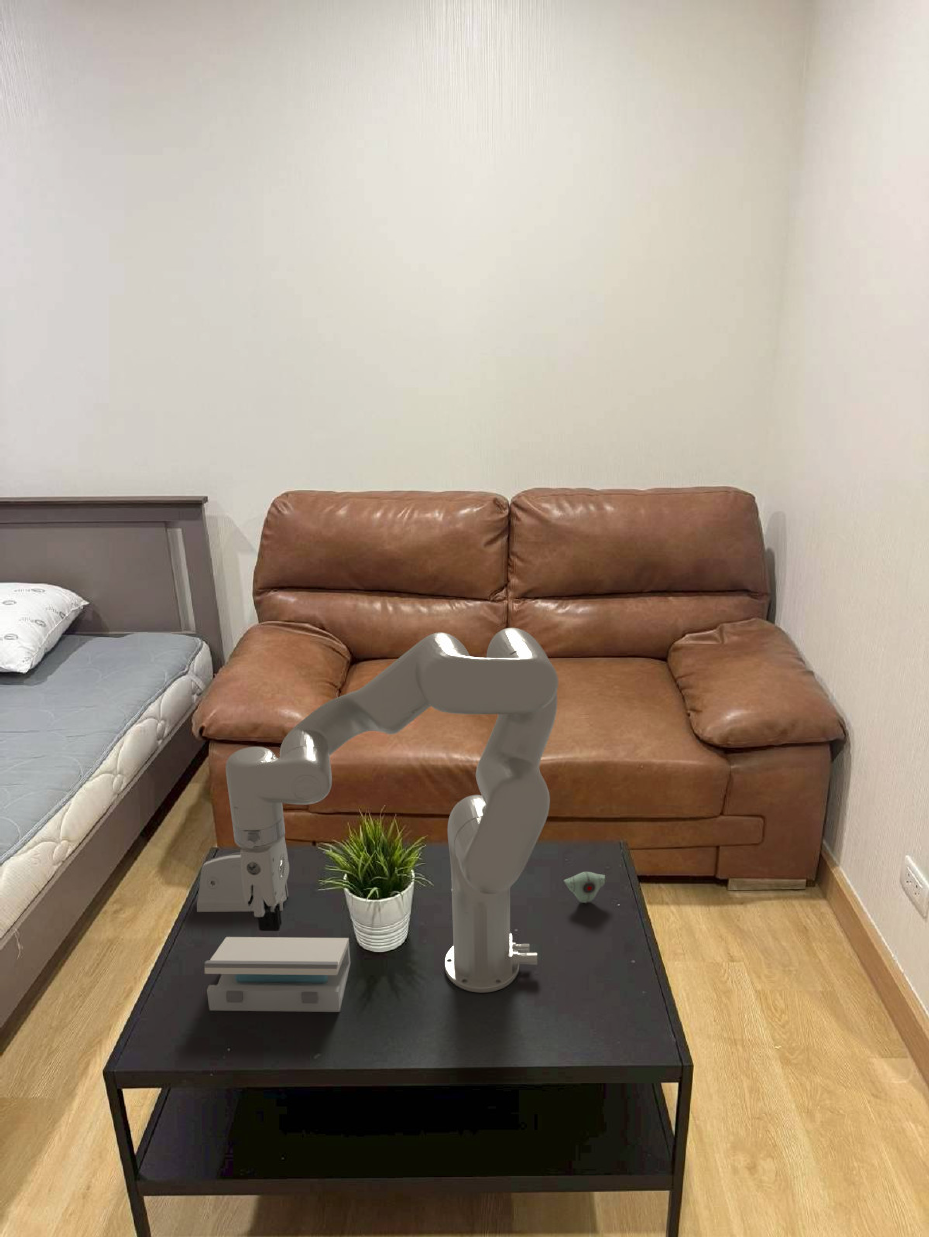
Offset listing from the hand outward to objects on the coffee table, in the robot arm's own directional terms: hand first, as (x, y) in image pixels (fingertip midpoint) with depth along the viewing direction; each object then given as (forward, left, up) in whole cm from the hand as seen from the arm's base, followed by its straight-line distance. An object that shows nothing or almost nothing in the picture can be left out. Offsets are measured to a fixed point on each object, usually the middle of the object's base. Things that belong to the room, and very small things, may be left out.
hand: (270, 927), depth 141 cm
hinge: (+13, -25, -14) cm, 32 cm away
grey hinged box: (0, -3, -14) cm, 14 cm away
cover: (0, -3, -8) cm, 9 cm away
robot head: (-52, -25, -14) cm, 59 cm away
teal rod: (0, -3, -13) cm, 13 cm away
